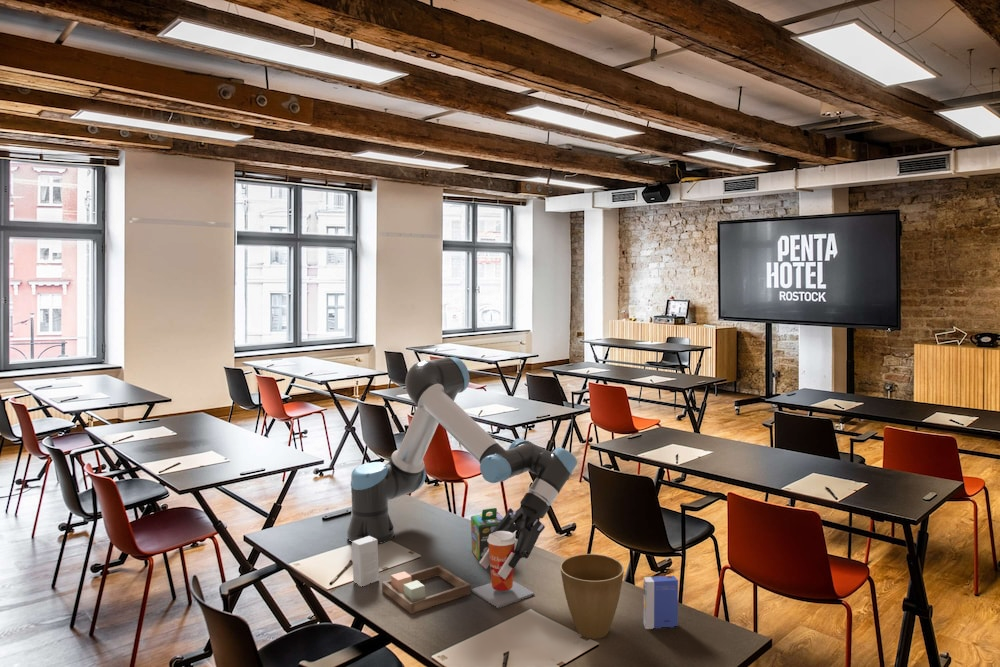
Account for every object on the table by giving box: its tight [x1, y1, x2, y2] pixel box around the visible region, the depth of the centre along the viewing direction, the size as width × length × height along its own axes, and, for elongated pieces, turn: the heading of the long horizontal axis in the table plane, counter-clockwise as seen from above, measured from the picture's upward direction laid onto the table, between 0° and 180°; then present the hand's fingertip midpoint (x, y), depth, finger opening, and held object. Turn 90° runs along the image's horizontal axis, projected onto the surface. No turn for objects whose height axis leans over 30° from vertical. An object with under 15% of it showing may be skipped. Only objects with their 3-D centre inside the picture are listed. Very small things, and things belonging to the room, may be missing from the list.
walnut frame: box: [381, 564, 471, 615], centre depth 186 cm, size 16×18×2 cm
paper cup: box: [487, 531, 517, 591], centre depth 184 cm, size 8×8×14 cm
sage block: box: [404, 580, 426, 602], centre depth 180 cm, size 4×4×5 cm
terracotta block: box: [390, 570, 412, 595], centre depth 186 cm, size 4×4×5 cm
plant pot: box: [559, 553, 625, 640], centre depth 164 cm, size 15×15×16 cm
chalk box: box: [470, 507, 504, 563], centre depth 210 cm, size 9×9×15 cm
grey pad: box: [470, 580, 535, 609], centre depth 185 cm, size 12×12×1 cm
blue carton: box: [642, 574, 679, 630], centre depth 167 cm, size 8×3×12 cm, turn 96°
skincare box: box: [351, 536, 380, 588], centre depth 193 cm, size 6×4×12 cm
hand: (491, 571), depth 183 cm, fingers closed on paper cup, 8 cm apart
